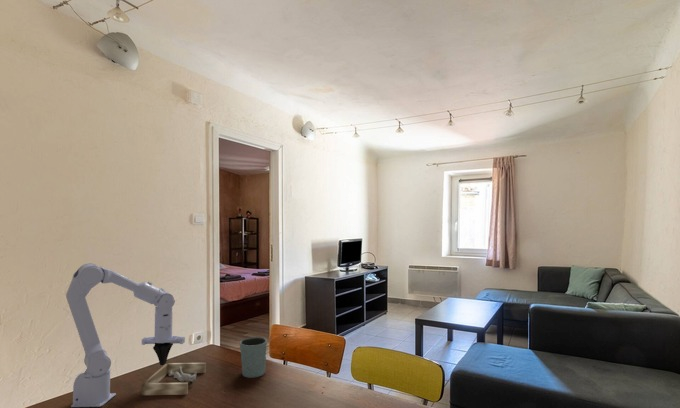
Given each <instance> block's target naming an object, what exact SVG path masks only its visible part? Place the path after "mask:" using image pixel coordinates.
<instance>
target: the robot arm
mask: <svg viewBox="0 0 680 408" xmlns="http://www.w3.org/2000/svg"><path fill="white" fill-rule="evenodd" d="M99 283H101V284H104V285H105V284H109V283H110V284H111V283H112V284H114V285H117V286H118V287H120V288H124V289H127V290H129V291H131V292H133V296H134V297H135V299H139V300H141V301H143V302H145V303H147V304H150V305H154V306H155V309H154V311H155V312H154V336H149V337H143V338H142V339H141V346H144V345H154V346H152V349H153V351H154V352H155V354H156V356H157V358H158V362H159V365H160V366H164V365H165V364H166V363H168V362H167V361H168V358H169V357H168V356H169V354H170V351H171V349H172V347H173V345H175V344H179V345H183V344H184V343H185V340H186V339H185V338H186V337H185V336H175V335H173V307H174V305H175V302H176V300H175V298H174V295H173V294H171V293H169V292H168V291H166V290H165V289H164V288H162V287H161V288H159V287H157V286H155V285H153V283H152V282H150V281H147V282H146V281H142V282H137V281H134V280H133V279H130V278H129V277H126V276H125V275H123V274H121V273H118V272H117V271H115V270H112V269H110V268H106V267H103V266H98V265H96V264H94V263H85V264H82V265H81V266H80V267H78V269H77V270H76V271H75V272H74V273H73V275H72V279H71V282H70V284H69V285H68V289H67V291H66V293H65V296H66V300H67V304H68V306H69V309H70V312H71V315H72V318H73V321H74V324H75V328H76V329H77V333H78V336H79V338H80V341H81V344H82V347H83V351H84V353H85V354H84V355H85V356H84V359H83V360H84V362H83V363H84V364H85V367H86V369H85V370H84V372H82V373H79V374H78V375H77V376H76V378H75V380H74V381H73V384H72V385H73V387H72V388H73V389H72V404H71V405H70V408H90V407H91V408H96V407H97V408H98V407H103V406H104V405H105V404H107V402H108V401H110V400H111V399H113V397H115V396H116V395H117V393H116V392H114V393H113V392H112V393H111V365H112V361H111V358H110V357H109V356H108V354H107V351H106V350H105V349H104V348H103V345H102V343H101V341H100V338H99V335H98V332H97V329H96V325H95V323H94V319H93V317H92V315H91V314H92V313H91V311H90V308H89V305H88V302H87V299H86V297H87V296H88V294H89V293H90V291H91V290H92V289H93V288H95V287H96V286H97V285H99Z"/></svg>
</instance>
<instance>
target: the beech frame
mask: <svg viewBox="0 0 680 408" xmlns="http://www.w3.org/2000/svg"><path fill="white" fill-rule="evenodd" d="M180 366H181V370H182V372H183V373H184V374H195V373H196V374H205V373H206V372H207V371H206V369H207V362H166V364H165V365H162V366H161V367H160V368H159V369H158V370H156V371H155V372H154V373H153V374H152V375H151V376H149V378H147V379H146V380H145V381H144V382H143V383H142V384H141V391H140V392H141V393H140V394H141V396H173V395H174V396H178V395H189V381H186V382H161V380H163V379H164V378H165V377H166V376H167V375H169V374H170V371H171V370H172V373H174V372H179V374H181V373H180V368H179V367H180Z"/></svg>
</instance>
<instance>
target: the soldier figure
mask: <svg viewBox="0 0 680 408" xmlns="http://www.w3.org/2000/svg"><path fill="white" fill-rule="evenodd" d="M179 368H180V373H179V372H174V373H172V370H171V371H170V374H168V376H169V377H170V376H173V377H172V379H176V380H178V382H179V383H186V382H191V383H192V382H195V381H196V379H197V374H198V373H183V372H182V370H181V366H180V367H179Z"/></svg>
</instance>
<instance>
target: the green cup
mask: <svg viewBox="0 0 680 408" xmlns="http://www.w3.org/2000/svg"><path fill="white" fill-rule="evenodd" d="M267 341H268V339H267V338H265V337H262V336H261V337H260V336H253V337H252V336H251V337H247V338H244V339H242V340H240V342H239V348H240V358H241V360H240V361H241V375H242V376H243V377H244V378H249V379H252V378H253V379H254V378H259V377H261V376H264V374H265V373H266V368H267V367H266V362H267V361H266V360H267V359H266V358H267V356H266V355H267V346H268V345H267V343H268V342H267Z"/></svg>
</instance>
